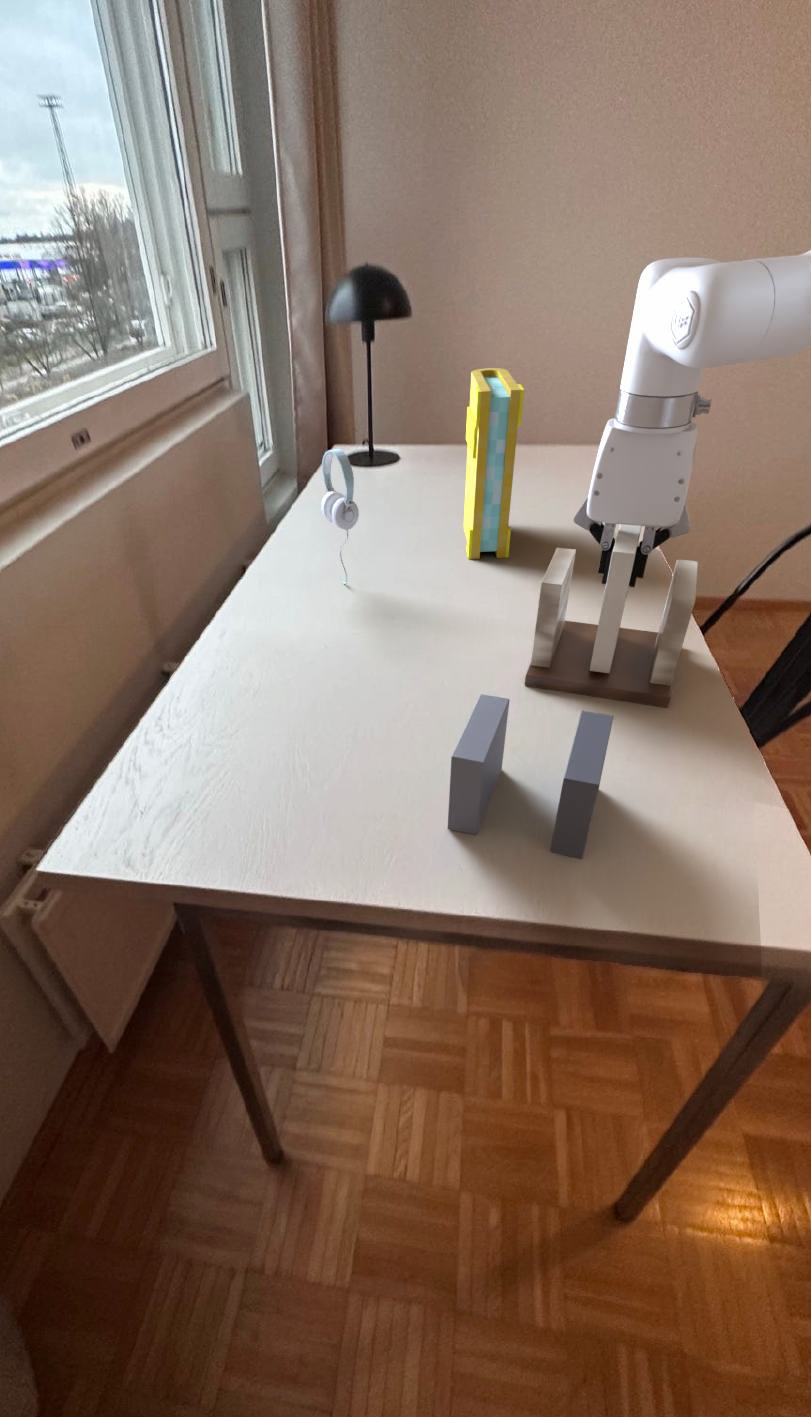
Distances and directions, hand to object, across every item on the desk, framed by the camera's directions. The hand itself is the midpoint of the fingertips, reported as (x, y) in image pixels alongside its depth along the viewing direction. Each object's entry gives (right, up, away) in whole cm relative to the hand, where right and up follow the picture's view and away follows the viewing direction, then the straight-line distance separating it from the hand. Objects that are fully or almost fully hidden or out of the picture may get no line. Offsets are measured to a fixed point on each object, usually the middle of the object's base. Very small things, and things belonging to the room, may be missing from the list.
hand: (619, 579), depth 85 cm
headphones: (-34, +9, +30) cm, 46 cm away
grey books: (-14, -27, -13) cm, 33 cm away
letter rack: (0, -9, +8) cm, 11 cm away
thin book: (0, -7, +6) cm, 10 cm away
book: (-9, +20, +41) cm, 47 cm away
